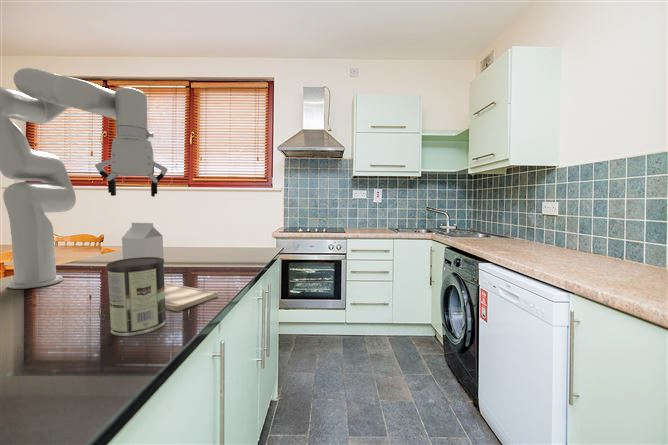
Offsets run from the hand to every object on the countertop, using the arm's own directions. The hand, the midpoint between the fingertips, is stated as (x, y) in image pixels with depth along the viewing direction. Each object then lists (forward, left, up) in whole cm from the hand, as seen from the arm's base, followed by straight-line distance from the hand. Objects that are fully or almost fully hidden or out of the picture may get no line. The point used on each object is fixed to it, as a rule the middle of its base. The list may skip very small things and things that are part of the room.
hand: (133, 196), depth 90 cm
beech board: (+13, 0, -28) cm, 30 cm away
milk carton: (+3, 0, -27) cm, 27 cm away
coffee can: (+25, -16, -28) cm, 41 cm away
